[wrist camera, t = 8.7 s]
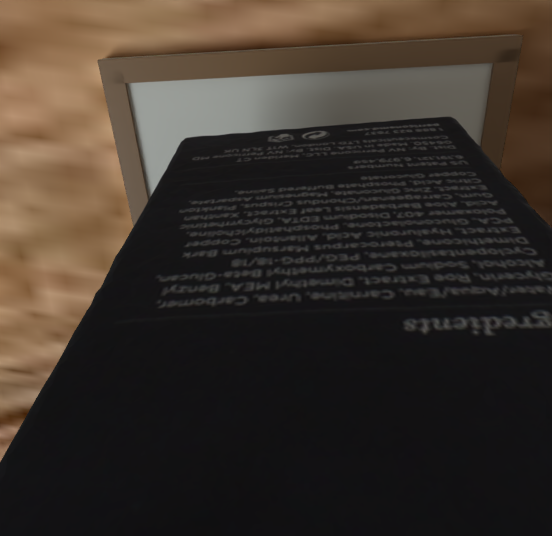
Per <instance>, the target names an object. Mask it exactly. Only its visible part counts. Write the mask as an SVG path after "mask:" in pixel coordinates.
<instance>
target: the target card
mask: <svg viewBox="0 0 552 536" xmlns="http://www.w3.org/2000/svg"><path fill="white" fill-rule="evenodd" d="M522 40H523V35H518V34H510V35H493V36H476V37H459V38H442V39H425V40H408V41H391V42H374V43H356V44H339V45H322V46H305V47H288V48H271V49H254V50H237V51H220V52H203V53H186V54H169V55H152V56H135V57H117V58H103V59H100V60H98V65H99V69H100V74H101V79H102V83H103V88H104V92H105V97H106V102H107V106H108V111H109V116H110V120H111V125H112V129H113V134H114V139H115V143H116V148H117V152H118V157H119V162H120V166H121V171H122V175H123V180H124V185H125V189H126V194H127V198H128V203H129V208H130V212H131V217H132V221H133V226H134V225H135V224H136V222H137V220H138V218H139V217H140V215H141V213H142V211H143V210H144V208H145V206H146V204H147V202H148V200H149V199H150V197H151V195H152V193H153V192H154V190H155V188H156V186H157V185H158V183H159V181H160V179H161V177H162V175H163V174H164V172H165V171H166V169H167V167H168V165H169V163H170V161H171V159H172V157H173V156H174V154H175V153H176V150H177V148H178V146H179V145H180V143H181V141H183V140H184V139H185V138H188V137H196V136H213V135H225V134H231V133H252V132H258V131H269V130H280V129H299V128H308V127H319V126H332V125H343V124H358V123H368V122H385V121H393V120H406V119H421V118H436V117H452V118H454V119H456V120H457V121H458V122H459V123H460V124H461V126H462V127H463V128H464V129H465V130H466V131H467V133H468V134H469V136H470V137H471V138H472V139H473V140H474V141H475V142H476V143H477V144H478V145H479V146H480V147H481V148H482V150H483V152H484V153H485V154H486V155H487V156H488V157H489V158H490V160H491V161H492V162H493V163H494V164H495V165H496V166H497V168H498V169H499V170H500V167H501V161H502V155H503V149H504V144H505V138H506V132H507V126H508V121H509V115H510V109H511V103H512V98H513V92H514V86H515V80H516V74H517V69H518V63H519V57H520V51H521V46H522Z"/></svg>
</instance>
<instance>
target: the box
mask: <svg viewBox="0 0 552 536" xmlns="http://www.w3.org/2000/svg"><path fill="white" fill-rule="evenodd" d="M0 536H552V228H551V227H550V226H549V225H548V224H547V223H546V222H545V221H544V220H543V219H542V218H541V217H540V216H539V215H538V214H537V213H536V211H535V210H534V209H533V208H532V207H530V206H529V204H528V202H527V201H526V199H525V198H524V197H523V196H522V194H521V193H520V192H519V191H518V190H517V189H516V188H515V187H514V186H513V185H512V184H511V183H510V182H509V181H508V180H507V179H506V178H505V177H504V176H503V174H502V173H501V171H500V170H499V169H498V168H497V166H496V165H495V164H494V163H493V162H492V161H491V160H490V158H489V157H488V156H487V155H486V154H485V153H484V152H483V150H482V148H481V147H480V146H479V145H478V144H477V143H476V142H475V141H474V140H473V139H472V138H471V137H470V136H469V134H468V133H467V131H466V130H465V129H464V128H463V127H462V126H461V124H460V123H459V122H458V121H457V120H456V119H454V118H452V117H436V118H421V119H406V120H393V121H385V122H368V123H358V124H343V125H332V126H319V127H308V128H299V129H280V130H269V131H258V132H252V133H231V134H225V135H213V136H196V137H188V138H185V139H184V140H183V141H181V143H180V145H179V146H178V148H177V150H176V153H175V154H174V156H173V157H172V159H171V161H170V163H169V165H168V167H167V169H166V171H165V172H164V174H163V175H162V177H161V179H160V181H159V183H158V185H157V186H156V188H155V190H154V192H153V193H152V195H151V197H150V199H149V200H148V202H147V204H146V206H145V208H144V210H143V211H142V213H141V215H140V217H139V218H138V220H137V222H136V224H135V225H134V227H133V229H132V231H131V232H130V234H129V236H128V238H127V240H126V241H125V243H124V245H123V246H122V248H121V250H120V251H119V253H118V254H117V255H116V257H115V259H114V261H113V264H112V266H111V268H110V271H109V272H108V274H107V276H106V278H105V280H104V282H103V285H102V287H101V288H100V289H99V290H98V291H97V293H96V294H95V297H94V299H93V301H92V304H91V306H90V307H89V309H88V310H87V311H86V313H85V315H84V317H83V318H82V320H81V322H80V324H79V325H78V327H77V328H76V330H75V332H74V333H73V335H72V337H71V339H70V341H69V343H68V345H67V347H66V349H65V350H64V352H63V354H62V356H61V358H60V360H59V362H58V363H57V365H56V367H55V368H54V370H53V372H52V373H51V375H50V377H49V378H48V380H47V381H46V383H45V385H44V386H43V388H42V390H41V391H40V393H39V395H38V397H37V398H36V400H35V402H34V404H33V405H32V407H31V409H30V411H29V413H28V414H27V416H26V418H25V420H24V421H23V423H22V425H21V427H20V428H19V430H18V432H17V434H16V435H15V437H14V439H13V441H12V442H11V444H10V446H9V448H8V449H7V451H6V453H5V455H4V457H3V458H2V460H1V462H0Z"/></svg>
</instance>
